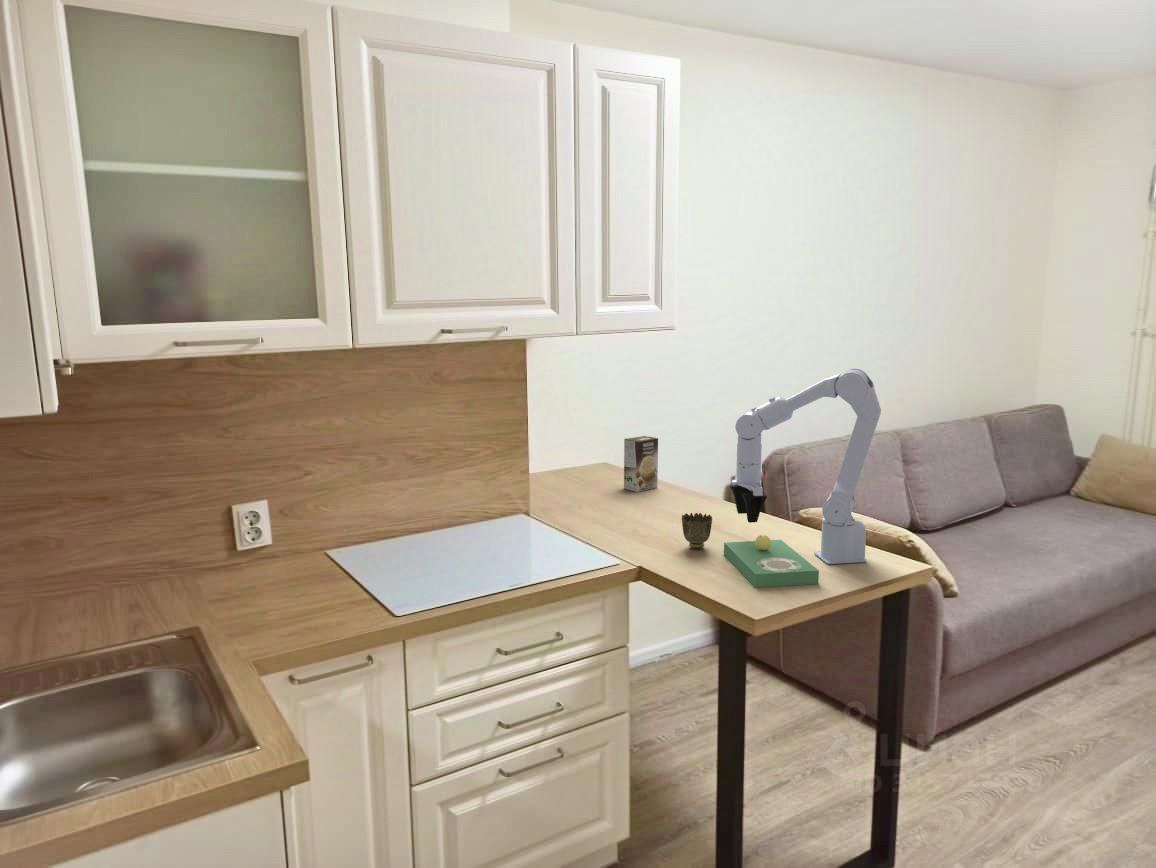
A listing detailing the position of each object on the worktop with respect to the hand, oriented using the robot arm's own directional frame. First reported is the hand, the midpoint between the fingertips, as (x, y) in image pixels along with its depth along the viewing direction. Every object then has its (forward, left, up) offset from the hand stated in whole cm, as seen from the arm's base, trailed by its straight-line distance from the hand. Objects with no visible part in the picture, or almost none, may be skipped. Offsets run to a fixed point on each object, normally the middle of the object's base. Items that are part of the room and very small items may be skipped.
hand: (747, 517), depth 201 cm
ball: (0, +11, -3) cm, 11 cm away
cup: (+12, -2, -8) cm, 14 cm away
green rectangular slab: (0, +15, -8) cm, 17 cm away
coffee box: (+13, -63, -8) cm, 65 cm away
